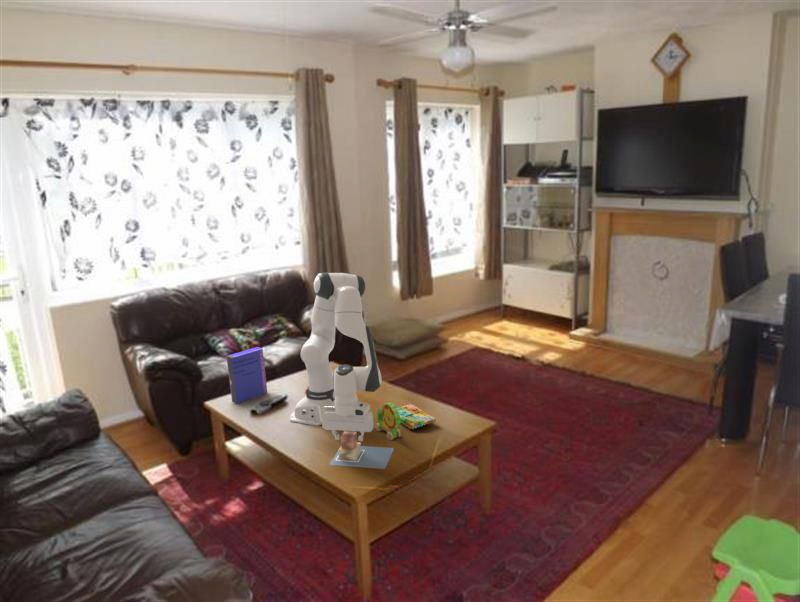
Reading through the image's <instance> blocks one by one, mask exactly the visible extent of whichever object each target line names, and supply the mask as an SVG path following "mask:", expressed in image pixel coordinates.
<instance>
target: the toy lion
mask: <svg viewBox="0 0 800 602" xmlns="http://www.w3.org/2000/svg"><path fill="white" fill-rule="evenodd" d="M396 408H397V407H396V405H395V404H393V403H392V402H387V403H386V402H385V403H384V404H383V406H382V407H381V408H379V409H378V410H377V412H376V423H374V429H375V431H378V432H381V431H385V432H386V438H387V440H389V441H393V440H394V439H396V438H397V437H398V438H401V436H402V432H401V430H400V429H399V428H400V425H401V423H400V415H399V412H398V410H397V409H396Z"/></svg>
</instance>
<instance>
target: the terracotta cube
mask: <svg viewBox="0 0 800 602" xmlns="http://www.w3.org/2000/svg"><path fill="white" fill-rule="evenodd" d="M357 433H358V431H343V433H342V434H341V436H340V446H341V449H352V450H354V449H355V447H356V445H357V442H358V434H357Z"/></svg>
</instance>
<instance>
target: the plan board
mask: <svg viewBox="0 0 800 602" xmlns="http://www.w3.org/2000/svg"><path fill="white" fill-rule="evenodd" d="M394 450H395V447H382V446H367V445H361V453H360V455H359V457H358V458H357V460H342V459H339V453H338V451H337V452H336V453H335V455H334V456H333V458H332V459H331V460H330V463H329V464H328V465H329V466H338V467H339V466H341V467H354V468H369V469H379V470H380V469H381V470H385V469H386V468H387V467H388V463H389V461H390V460H391V457H392V455H393V452H394Z"/></svg>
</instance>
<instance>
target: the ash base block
mask: <svg viewBox="0 0 800 602" xmlns="http://www.w3.org/2000/svg"><path fill="white" fill-rule="evenodd" d="M361 442H362V441H357V445H356V447H355V449H354V450H352V449H341V445H340V447H339V448H338V449H337V452H338V453H339V459H342V460H357V458H358V457H359V455H360V453H361V446H362V443H361Z"/></svg>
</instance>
